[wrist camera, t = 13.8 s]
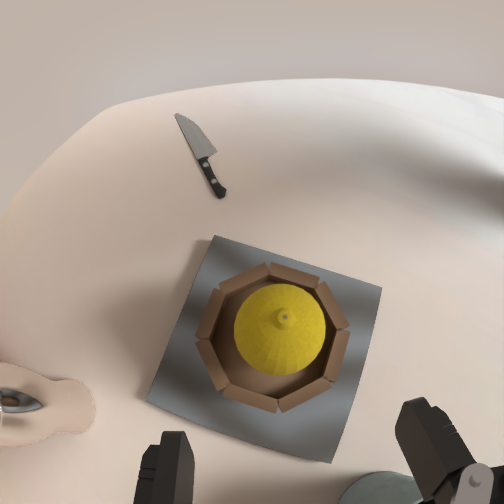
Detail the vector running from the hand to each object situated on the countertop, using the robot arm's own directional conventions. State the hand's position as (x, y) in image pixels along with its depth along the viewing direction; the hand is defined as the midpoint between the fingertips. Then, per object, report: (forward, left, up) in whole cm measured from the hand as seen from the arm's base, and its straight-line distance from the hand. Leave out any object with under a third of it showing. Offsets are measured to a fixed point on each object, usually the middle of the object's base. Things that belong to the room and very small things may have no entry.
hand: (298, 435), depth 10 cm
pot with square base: (-5, -2, -19) cm, 20 cm away
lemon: (-5, -2, -12) cm, 13 cm away
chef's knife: (-27, -19, -20) cm, 38 cm away
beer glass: (+9, -19, -19) cm, 29 cm away
